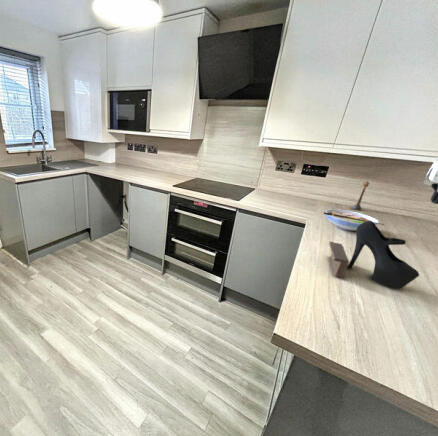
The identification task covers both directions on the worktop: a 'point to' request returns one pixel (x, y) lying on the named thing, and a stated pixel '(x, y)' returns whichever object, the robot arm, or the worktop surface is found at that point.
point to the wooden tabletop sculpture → (357, 206)
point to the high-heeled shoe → (383, 257)
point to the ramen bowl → (348, 219)
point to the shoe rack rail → (338, 259)
